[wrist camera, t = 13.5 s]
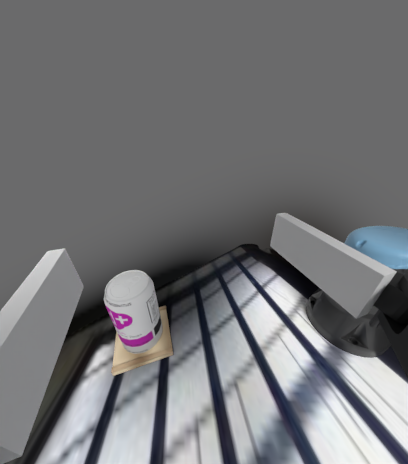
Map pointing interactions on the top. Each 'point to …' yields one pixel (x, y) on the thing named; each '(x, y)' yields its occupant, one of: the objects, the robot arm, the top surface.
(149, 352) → the trivet
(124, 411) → the top surface
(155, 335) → the supplement can
